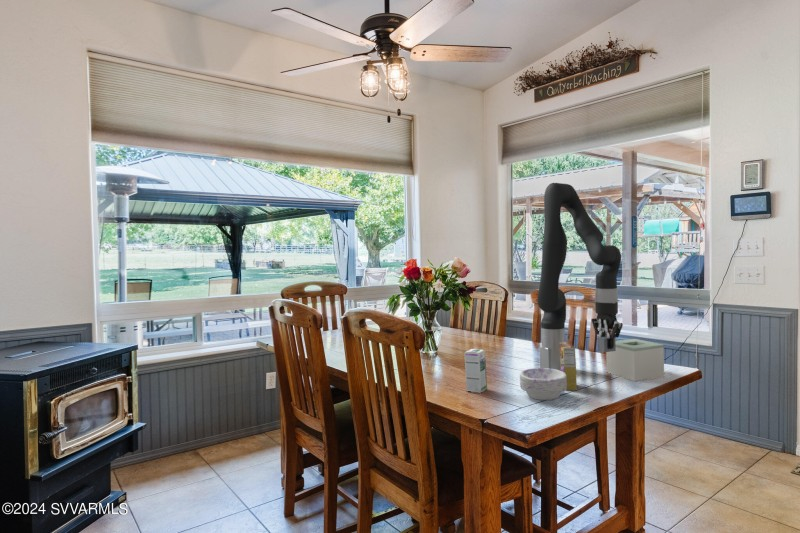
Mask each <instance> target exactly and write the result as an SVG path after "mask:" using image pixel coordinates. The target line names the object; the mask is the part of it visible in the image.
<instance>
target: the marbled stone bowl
mask: <svg viewBox="0 0 800 533" xmlns="http://www.w3.org/2000/svg"><path fill="white" fill-rule="evenodd" d="M519 388H520V389H521V390H522V391H525V393H526V394H527V396H528V397H530V398H532V399H533V400H538V401H551V400H552V401H553V400H555V399H558V398H559V397H560V396H561V394H562V393H563V392H565V391H567V390H566V389H567V380H566V374H565V373H564V372H562V371H560V370H556V369H550V368H540V367H535V368H534V367H533V368H527V369H523V370H522V371H521V372H519Z"/></svg>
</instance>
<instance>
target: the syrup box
mask: <svg viewBox="0 0 800 533" xmlns="http://www.w3.org/2000/svg"><path fill="white" fill-rule="evenodd" d="M486 360H487V359H486V350H485V349H481V348H470V349H468V350H467V351H465V352H464V366H465V369H464V370H465V371H464V372H465V384H466V385H465V388H466V392H468V391H471V392H470V393H474V392H478V393H477V394H482V393H483V392H484V391H485V390H486V391H487V389H488V384H487V383H488V382H487V364H486ZM481 392H482V393H481Z"/></svg>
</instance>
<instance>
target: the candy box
mask: <svg viewBox="0 0 800 533" xmlns="http://www.w3.org/2000/svg"><path fill="white" fill-rule="evenodd" d="M559 349H560V368H561V371H562V372H564V373H565V374H566V380H567V389H566V390H565V391H577V390H578V389H577V388H578V385H577V365H576V364H577V362H576V347H574V345H573V344H572V343H571V342H567V341H565V343H559Z"/></svg>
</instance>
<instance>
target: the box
mask: <svg viewBox="0 0 800 533" xmlns="http://www.w3.org/2000/svg"><path fill="white" fill-rule="evenodd" d="M615 345H616V351H611V352H605V354H606V355H605V356H606V373H607V372H608V373H607V374H610V373H611V374H610V375H613V374H614V376H616V375H617V376H616V377H620V378H622V379H625V380H626V379H627V380H629V381H632V382H638V381H646V380H652V379H657V378H663V377H665V357H664V356H665V349H664V345H665V344H663V343H662V344H661V343H656V342H653V341H652V342H651V341H648V340H642V339H638V338H628V339H620V340H615Z"/></svg>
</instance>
